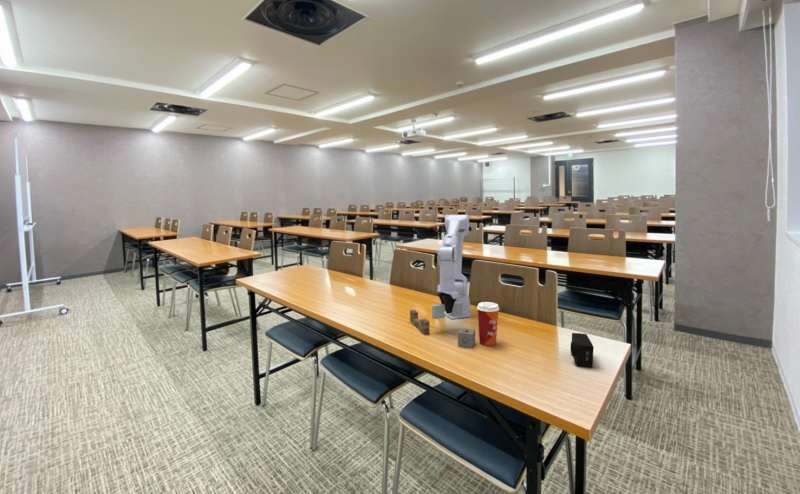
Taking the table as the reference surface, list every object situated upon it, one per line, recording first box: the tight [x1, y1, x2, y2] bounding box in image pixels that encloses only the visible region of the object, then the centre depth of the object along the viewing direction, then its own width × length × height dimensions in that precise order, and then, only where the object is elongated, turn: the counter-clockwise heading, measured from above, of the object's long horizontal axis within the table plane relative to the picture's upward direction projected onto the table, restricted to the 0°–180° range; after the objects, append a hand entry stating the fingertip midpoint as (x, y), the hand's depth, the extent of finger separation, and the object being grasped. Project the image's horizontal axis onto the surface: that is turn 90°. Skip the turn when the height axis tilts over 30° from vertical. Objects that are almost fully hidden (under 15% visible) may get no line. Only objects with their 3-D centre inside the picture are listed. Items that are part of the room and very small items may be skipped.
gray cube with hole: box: [457, 327, 476, 349], centre depth 127 cm, size 5×5×5 cm
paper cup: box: [476, 301, 500, 347], centre depth 128 cm, size 8×8×14 cm
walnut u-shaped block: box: [409, 309, 430, 336], centre depth 145 cm, size 16×2×5 cm, turn 18°
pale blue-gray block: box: [431, 302, 463, 320], centre depth 140 cm, size 12×2×5 cm, turn 108°
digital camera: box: [570, 332, 595, 369], centre depth 113 cm, size 10×5×7 cm, turn 164°
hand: (447, 312), depth 140 cm, fingers closed on pale blue-gray block, 2 cm apart
